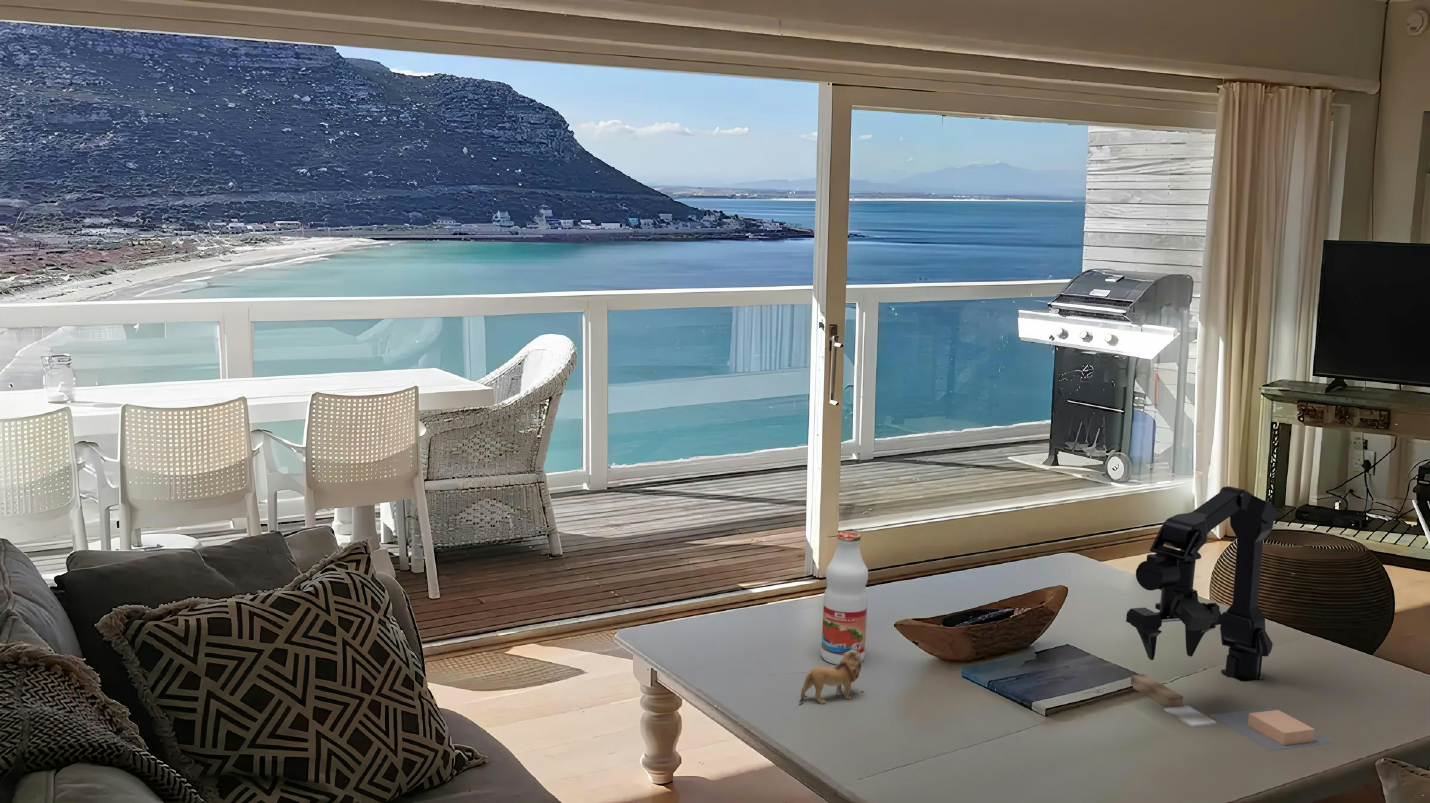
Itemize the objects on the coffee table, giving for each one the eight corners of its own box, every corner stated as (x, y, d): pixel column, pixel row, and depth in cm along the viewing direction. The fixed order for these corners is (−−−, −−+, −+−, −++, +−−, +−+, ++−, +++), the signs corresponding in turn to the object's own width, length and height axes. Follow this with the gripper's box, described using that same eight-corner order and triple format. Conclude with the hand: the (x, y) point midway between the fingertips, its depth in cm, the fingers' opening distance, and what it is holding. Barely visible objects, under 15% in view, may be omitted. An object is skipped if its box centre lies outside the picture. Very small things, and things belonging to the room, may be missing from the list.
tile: (1278, 709, 224) (1314, 729, 216) (1276, 721, 224) (1313, 741, 216) (1248, 713, 222) (1284, 733, 213) (1247, 725, 222) (1283, 745, 214)
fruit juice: (870, 655, 253) (877, 532, 249) (855, 669, 245) (862, 541, 241) (830, 647, 258) (836, 525, 253) (814, 660, 249) (820, 535, 245)
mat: (1270, 710, 231) (1271, 707, 231) (1335, 744, 216) (1335, 742, 216) (1209, 717, 227) (1209, 714, 227) (1270, 753, 212) (1270, 750, 211)
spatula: (1124, 689, 240) (1126, 675, 239) (1147, 686, 241) (1148, 673, 241) (1192, 729, 221) (1193, 714, 220) (1216, 726, 223) (1217, 712, 222)
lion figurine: (850, 686, 236) (852, 644, 235) (866, 696, 231) (869, 653, 230) (791, 700, 228) (793, 656, 227) (807, 710, 224) (809, 666, 222)
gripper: (1165, 597, 218) (1157, 676, 220) (1246, 591, 223) (1237, 668, 225) (1127, 580, 228) (1120, 655, 230) (1205, 575, 234) (1198, 648, 236)
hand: (1170, 657), depth 230 cm, fingers open, 9 cm apart
